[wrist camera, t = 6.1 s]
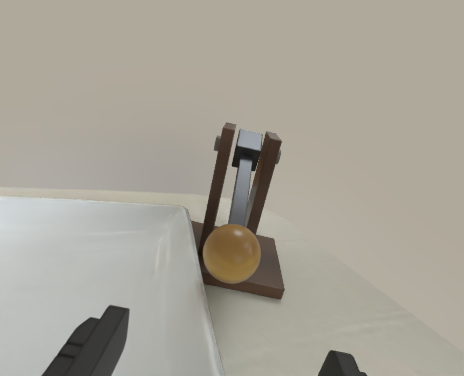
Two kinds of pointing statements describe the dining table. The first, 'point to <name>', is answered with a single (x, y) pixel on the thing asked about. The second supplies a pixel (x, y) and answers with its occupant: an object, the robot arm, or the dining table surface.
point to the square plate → (102, 284)
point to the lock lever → (236, 221)
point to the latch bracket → (268, 271)
